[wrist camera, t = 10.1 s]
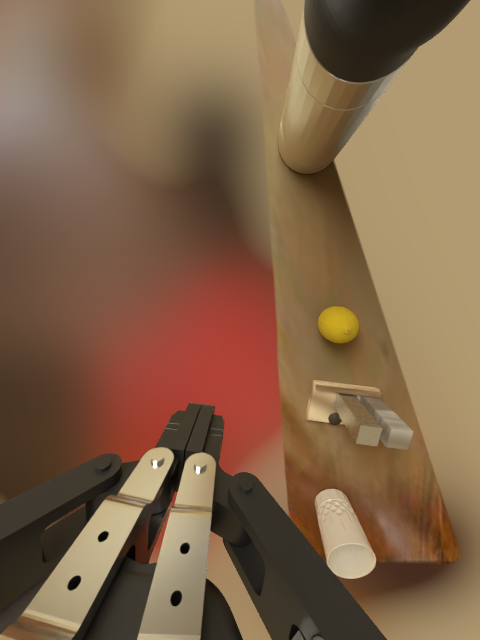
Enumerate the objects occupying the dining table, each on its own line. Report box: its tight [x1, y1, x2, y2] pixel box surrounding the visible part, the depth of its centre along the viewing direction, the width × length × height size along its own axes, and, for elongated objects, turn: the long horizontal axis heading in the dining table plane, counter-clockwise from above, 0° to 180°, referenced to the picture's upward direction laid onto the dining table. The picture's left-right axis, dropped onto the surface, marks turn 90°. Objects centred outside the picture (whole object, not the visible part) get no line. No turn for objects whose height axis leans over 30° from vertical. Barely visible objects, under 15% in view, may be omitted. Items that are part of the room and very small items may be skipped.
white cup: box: [315, 489, 376, 579], centre depth 42 cm, size 8×8×10 cm
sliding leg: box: [334, 393, 383, 446], centre depth 36 cm, size 5×3×9 cm, turn 174°
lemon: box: [318, 306, 359, 343], centre depth 35 cm, size 6×6×8 cm
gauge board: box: [306, 380, 413, 450], centre depth 37 cm, size 8×12×10 cm, turn 83°
